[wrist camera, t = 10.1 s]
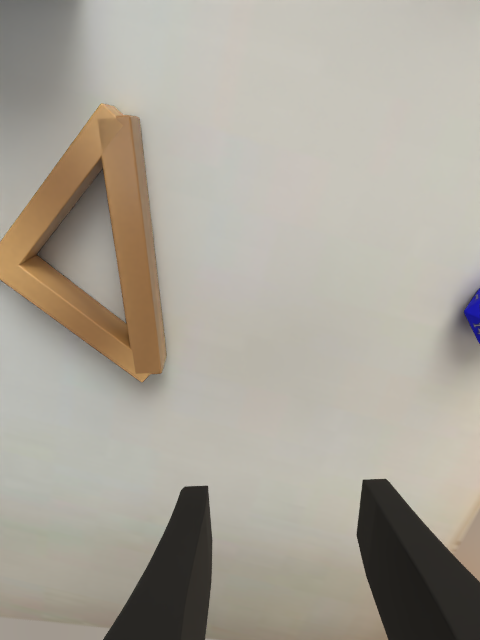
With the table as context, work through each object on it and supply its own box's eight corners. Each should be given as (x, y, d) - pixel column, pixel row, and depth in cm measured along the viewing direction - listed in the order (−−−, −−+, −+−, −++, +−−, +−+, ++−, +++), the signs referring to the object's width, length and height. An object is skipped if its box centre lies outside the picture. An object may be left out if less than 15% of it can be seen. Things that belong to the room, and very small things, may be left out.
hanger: (-1, 369, 20) (-19, 388, 18) (-78, 112, 15) (-110, 109, 14) (167, 363, 20) (162, 381, 18) (138, 105, 15) (128, 102, 14)
